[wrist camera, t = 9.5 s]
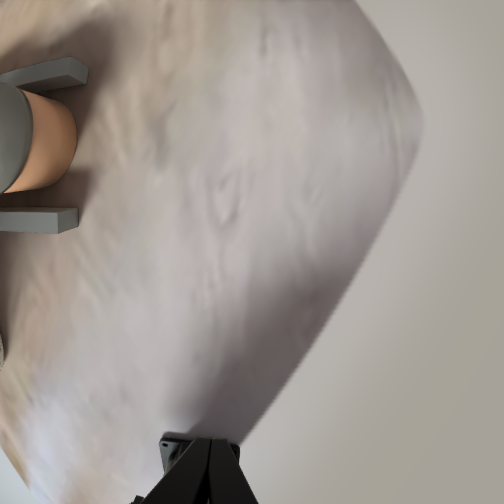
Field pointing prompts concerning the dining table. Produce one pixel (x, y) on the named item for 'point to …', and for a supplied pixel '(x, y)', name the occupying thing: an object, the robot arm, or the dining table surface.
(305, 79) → the dining table surface
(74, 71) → the lane
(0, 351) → the supplement can
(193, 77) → the dining table surface
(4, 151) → the jar terracotta
